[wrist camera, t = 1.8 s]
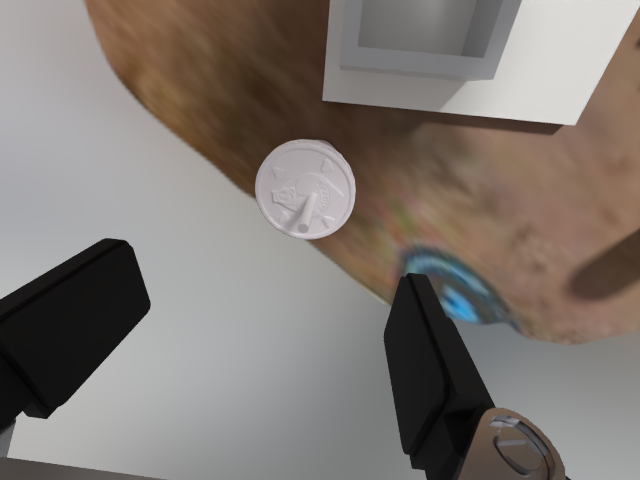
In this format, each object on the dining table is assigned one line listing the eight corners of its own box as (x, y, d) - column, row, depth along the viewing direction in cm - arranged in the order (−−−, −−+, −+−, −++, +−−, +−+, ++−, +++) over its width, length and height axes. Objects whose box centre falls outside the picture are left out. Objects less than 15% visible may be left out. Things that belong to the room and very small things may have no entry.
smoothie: (352, 192, 25) (357, 282, 13) (288, 193, 26) (239, 280, 14) (353, 121, 22) (362, 157, 10) (281, 124, 23) (209, 161, 11)
